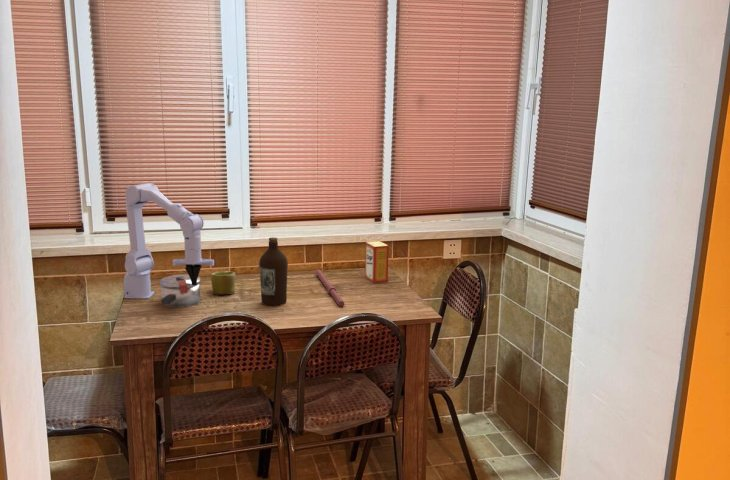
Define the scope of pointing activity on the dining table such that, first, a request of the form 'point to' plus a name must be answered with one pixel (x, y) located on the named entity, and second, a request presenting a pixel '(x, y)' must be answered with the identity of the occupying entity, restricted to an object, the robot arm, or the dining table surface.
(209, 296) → the dining table surface
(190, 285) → the cooker lid
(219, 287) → the mug
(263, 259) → the olive oil
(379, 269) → the baking soda box
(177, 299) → the silver pot
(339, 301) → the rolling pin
